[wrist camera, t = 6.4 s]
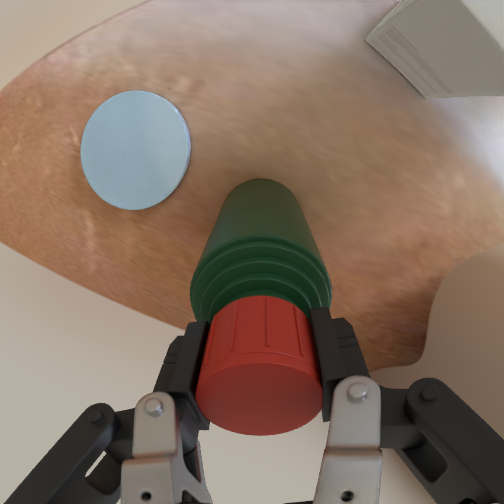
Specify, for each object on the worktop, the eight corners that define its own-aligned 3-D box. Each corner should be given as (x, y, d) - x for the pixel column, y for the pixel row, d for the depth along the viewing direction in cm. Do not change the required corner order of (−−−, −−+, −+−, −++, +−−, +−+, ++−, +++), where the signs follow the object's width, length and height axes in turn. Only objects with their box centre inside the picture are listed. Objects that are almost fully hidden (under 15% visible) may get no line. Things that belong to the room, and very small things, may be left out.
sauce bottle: (293, 171, 22) (362, 288, 7) (305, 246, 25) (357, 423, 9) (213, 188, 23) (124, 325, 8) (232, 259, 26) (198, 441, 10)
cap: (197, 301, 10) (177, 366, 7) (308, 287, 10) (325, 353, 7) (222, 374, 12) (213, 437, 9) (313, 365, 12) (324, 429, 9)
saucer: (175, 74, 19) (172, 73, 19) (204, 192, 23) (202, 194, 23) (74, 116, 21) (69, 117, 20) (102, 219, 25) (98, 221, 24)
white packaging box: (461, 54, 16) (561, 39, 5) (424, 101, 19) (533, 102, 8) (404, -6, 15) (484, -61, 3) (360, 38, 17) (439, -22, 6)
